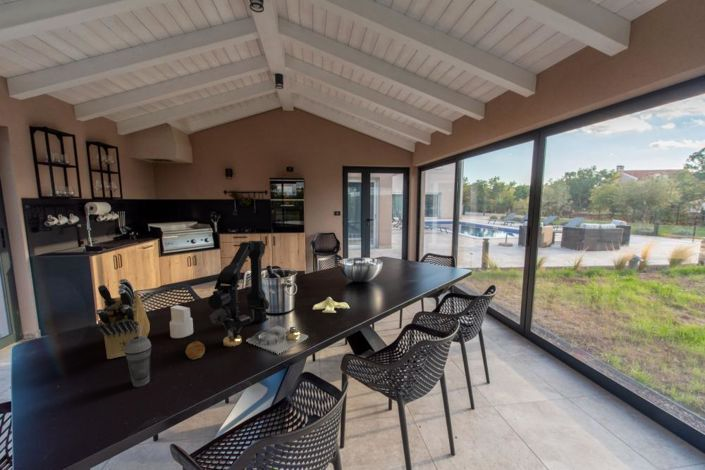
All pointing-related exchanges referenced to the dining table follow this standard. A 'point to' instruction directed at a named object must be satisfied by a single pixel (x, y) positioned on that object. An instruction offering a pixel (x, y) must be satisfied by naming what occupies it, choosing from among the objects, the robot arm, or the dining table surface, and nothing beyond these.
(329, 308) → the bird figurine
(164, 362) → the dining table surface
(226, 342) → the gear
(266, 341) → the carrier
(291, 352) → the dining table surface
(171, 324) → the cylinder with rectangular tab
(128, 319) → the knife block
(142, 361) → the beverage cup
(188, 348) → the pastry
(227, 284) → the robot arm
